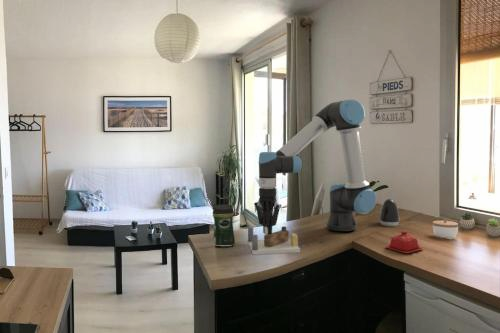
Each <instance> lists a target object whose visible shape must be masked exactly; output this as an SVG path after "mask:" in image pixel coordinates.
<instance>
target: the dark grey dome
mask: <svg viewBox="0 0 500 333" xmlns="http://www.w3.org/2000/svg"><path fill="white" fill-rule="evenodd" d="M399 213H400V212H399V208H398V206H397V203H396V202H395V200H393V199H392V198H387V199H386V200H385V201H384V202H383V203H382V206H381V208H380V213H379V222H380V225H381V226H382V225H383V226H386V227H396V226H398V225H399V223H400V221H401V220H400V219H401V218H400V214H399Z"/></svg>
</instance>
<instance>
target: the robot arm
mask: <svg viewBox="0 0 500 333" xmlns="http://www.w3.org/2000/svg"><path fill="white" fill-rule="evenodd" d="M365 117H366V112H365V108H364V106H363V104H362V103H360V102H359V101H358V100H356V99H345V100H340V101H334V102H331V103H329V104H327V105H326V106H324V107H322V109H321V110H319V111H318V112H317V113H316V114H315V115H314V116H313V117H312V118H311V119H312V120H311V121H310V122H309V123H308V124H306V125H305V126H304V127H303V128H302V129H301V130H300V131H298V132H297V133H296V134H295V135H294V136H293V137H292V138H290V139H289V140H288V141H287V142H286V143H285V144H283V146H281V148H279V149H278V150H277V151H262V152H260V153H259V155H258V187H259V188H258V196H259V198H258V201H257V202H254V206H255V209H256V215H257V219H258V224H259V225H261V226H262V230H263V231H262V232H263V234H264V235H267V234H272V233H273V227H274V226H277V222H278V217H279V213H280V209H281V208H282V204H279V203H278V202H277V188H276V187H277V174H294V173H295V174H297V173H299V172H301V170H302V166H303V164H302V159H301V158H300V157H299V156H298V154H299V153H300V152H301V151H302V150H304V149H305V148H306V147H307V146H308V145H310V143H311V142H314V140H315V139H317V137H318V136H320V134H322V133H325V132H327V131H329V130H330V129H332V128H334V127H335V129H336V132H337V133H339V135H340V141H341V142H340V143H341V147H342V154H343V155H342V156H343V161H344V162H343V163H344V169H345V178H346V183H340V184H331V185H330V187H329V215H328V218H327V220H326V221H327V222H326V229H328V230H331V231H335V232H350V231H351V232H352V231H355V230H357V226H358V225H357V224H358V223H357V221H356V218H355V216H354V212H355V213H358V214H368V213H369V212H371V211H373V209H374V207H375V206H376V204H377V195H376V193H375V191H373V189H371V186H370V182H368V181H367V180H366V175H365V168H364V167H365V166H364V160H363V153H362V145H361V144H362V143H361V138H360V130H361V129H362V122H364V119H365Z"/></svg>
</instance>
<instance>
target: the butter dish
mask: <svg viewBox="0 0 500 333" xmlns="http://www.w3.org/2000/svg"><path fill="white" fill-rule="evenodd" d="M385 248H387V249H389V250H391V251H392V250H393V251H395V252H399V253H403V254H410V253H414V252H418V251H422V250H424V248H423V247H420V245H419V241H418V239H417V237H416V236H414V235H411V234H408V231H407V230H405V229H404V230H400V233H398V234H395V235H393V236H392V237H391V239H390V243H389V245H385Z"/></svg>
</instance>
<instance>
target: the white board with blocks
mask: <svg viewBox="0 0 500 333" xmlns="http://www.w3.org/2000/svg"><path fill="white" fill-rule="evenodd" d="M258 238H259V236H258V234H254V227H247V244H248V243H249V245H248V247H249V246H250V247H249V249H250V248H251V250H250V252H251V251H252V252H251V254H252V255H253V254H255V255H270V254H272V255H273V254H291V253H295V254H296V253H301V248H300V247H299V240H298V238H299V236H298V235H297V233H295V232H294V233H292V232H291V233H290V238H289V241H286V242H283V243H280V244H277V245H274V246H271V247H268V246H264V239H258Z"/></svg>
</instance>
